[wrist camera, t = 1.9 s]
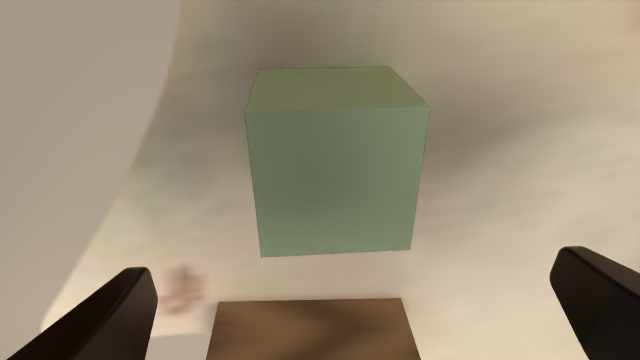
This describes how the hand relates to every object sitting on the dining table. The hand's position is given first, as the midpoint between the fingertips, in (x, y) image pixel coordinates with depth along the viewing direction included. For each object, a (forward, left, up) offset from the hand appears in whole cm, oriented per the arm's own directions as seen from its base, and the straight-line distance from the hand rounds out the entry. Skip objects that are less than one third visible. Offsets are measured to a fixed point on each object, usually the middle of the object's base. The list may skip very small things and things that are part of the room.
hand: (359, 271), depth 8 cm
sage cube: (0, 0, -9) cm, 9 cm away
